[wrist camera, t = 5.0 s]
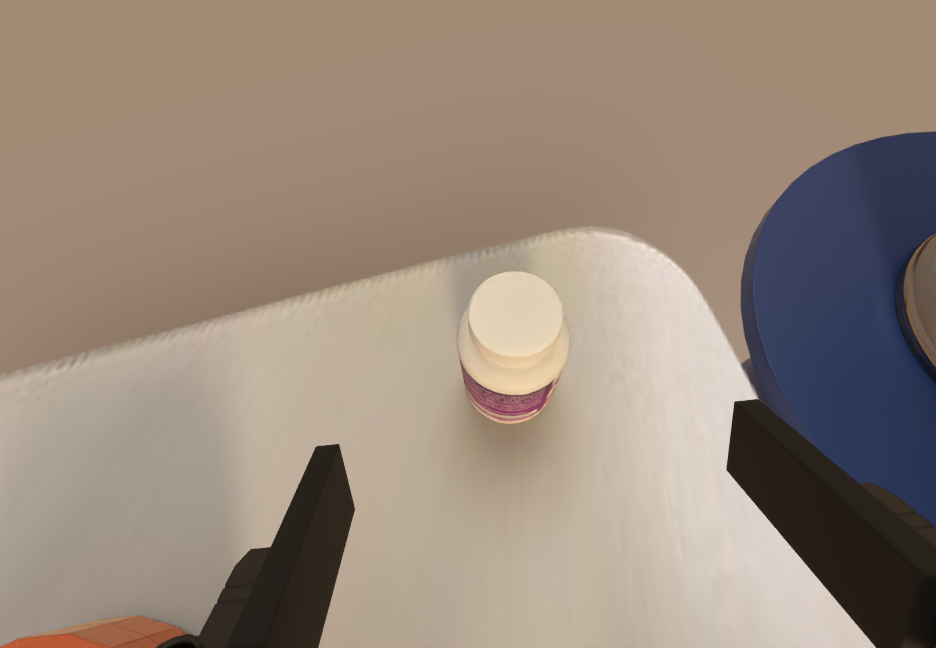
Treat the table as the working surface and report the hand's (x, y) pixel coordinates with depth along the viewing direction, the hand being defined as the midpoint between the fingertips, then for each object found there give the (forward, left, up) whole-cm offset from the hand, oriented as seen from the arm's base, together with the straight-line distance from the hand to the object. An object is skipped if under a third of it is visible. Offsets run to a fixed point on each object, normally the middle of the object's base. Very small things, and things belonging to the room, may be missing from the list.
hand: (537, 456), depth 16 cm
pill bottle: (0, -6, -11) cm, 13 cm away
